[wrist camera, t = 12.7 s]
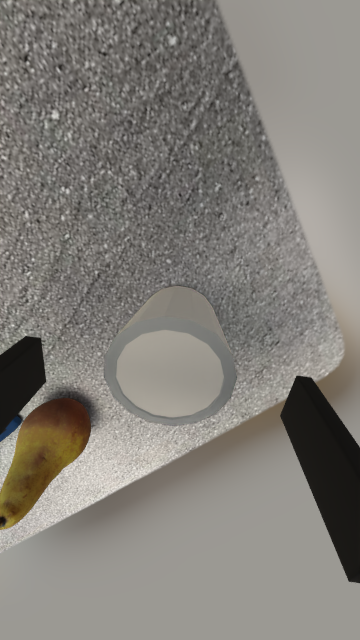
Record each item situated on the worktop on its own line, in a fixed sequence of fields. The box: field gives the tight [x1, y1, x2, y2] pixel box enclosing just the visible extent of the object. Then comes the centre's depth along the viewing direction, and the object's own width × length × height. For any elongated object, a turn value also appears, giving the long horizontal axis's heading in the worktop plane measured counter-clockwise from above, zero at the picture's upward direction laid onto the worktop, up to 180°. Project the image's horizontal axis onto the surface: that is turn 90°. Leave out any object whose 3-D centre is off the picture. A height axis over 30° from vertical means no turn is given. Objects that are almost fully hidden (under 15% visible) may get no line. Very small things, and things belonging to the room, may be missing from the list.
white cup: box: [104, 286, 237, 426], centre depth 16 cm, size 7×7×7 cm
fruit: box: [0, 398, 91, 530], centre depth 18 cm, size 6×6×12 cm
